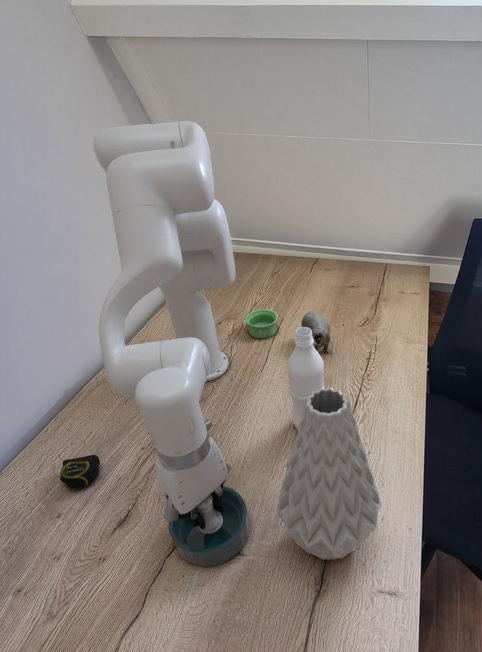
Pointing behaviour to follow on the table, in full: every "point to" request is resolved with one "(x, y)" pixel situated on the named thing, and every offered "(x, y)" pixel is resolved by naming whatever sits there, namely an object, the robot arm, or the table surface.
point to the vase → (328, 481)
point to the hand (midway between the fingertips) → (207, 515)
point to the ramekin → (262, 323)
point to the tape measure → (80, 471)
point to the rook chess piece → (209, 515)
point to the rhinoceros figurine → (317, 329)
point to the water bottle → (304, 372)
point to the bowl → (214, 534)
